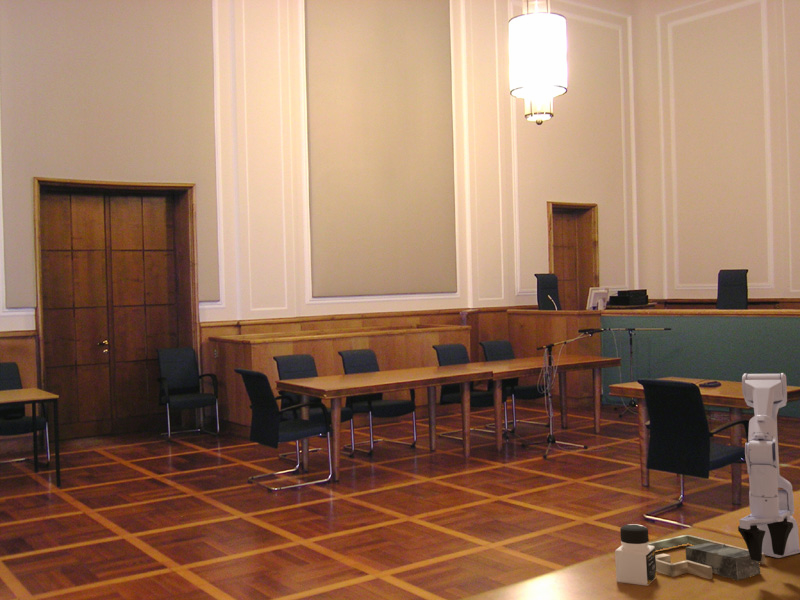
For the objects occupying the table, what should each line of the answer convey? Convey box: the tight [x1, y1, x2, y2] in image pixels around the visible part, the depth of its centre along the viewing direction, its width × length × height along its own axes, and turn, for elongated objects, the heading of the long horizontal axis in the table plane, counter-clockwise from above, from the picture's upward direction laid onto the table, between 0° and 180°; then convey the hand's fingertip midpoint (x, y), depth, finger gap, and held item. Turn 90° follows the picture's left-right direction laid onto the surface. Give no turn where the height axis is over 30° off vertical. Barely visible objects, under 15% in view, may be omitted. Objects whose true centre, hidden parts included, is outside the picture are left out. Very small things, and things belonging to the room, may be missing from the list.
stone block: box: [685, 543, 762, 582], centre depth 189 cm, size 9×14×5 cm, turn 29°
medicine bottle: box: [614, 523, 657, 587], centre depth 184 cm, size 7×7×12 cm
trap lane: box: [649, 534, 766, 580], centre depth 196 cm, size 24×23×2 cm
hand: (767, 557), depth 180 cm, fingers open, 7 cm apart
